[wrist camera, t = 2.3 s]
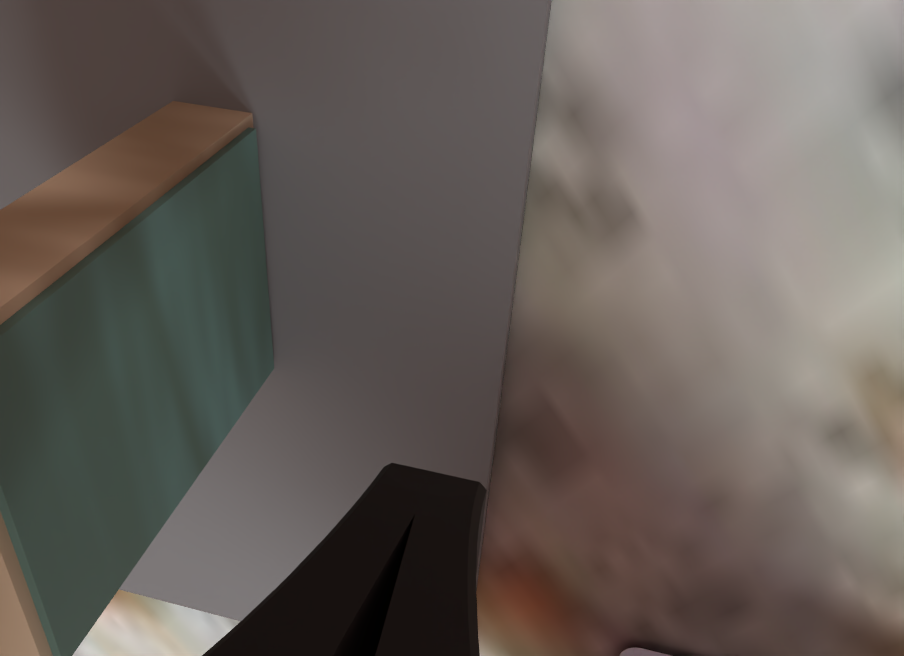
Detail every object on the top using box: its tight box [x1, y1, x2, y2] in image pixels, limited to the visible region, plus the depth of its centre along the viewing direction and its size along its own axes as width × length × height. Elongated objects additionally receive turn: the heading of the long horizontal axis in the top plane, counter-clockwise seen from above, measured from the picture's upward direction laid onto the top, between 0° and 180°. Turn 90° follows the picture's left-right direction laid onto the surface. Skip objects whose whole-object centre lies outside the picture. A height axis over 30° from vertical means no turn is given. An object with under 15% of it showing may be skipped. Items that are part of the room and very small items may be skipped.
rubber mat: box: [0, 0, 551, 621], centre depth 19 cm, size 18×22×1 cm
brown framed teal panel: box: [0, 101, 274, 656], centre depth 14 cm, size 2×6×8 cm, turn 177°
